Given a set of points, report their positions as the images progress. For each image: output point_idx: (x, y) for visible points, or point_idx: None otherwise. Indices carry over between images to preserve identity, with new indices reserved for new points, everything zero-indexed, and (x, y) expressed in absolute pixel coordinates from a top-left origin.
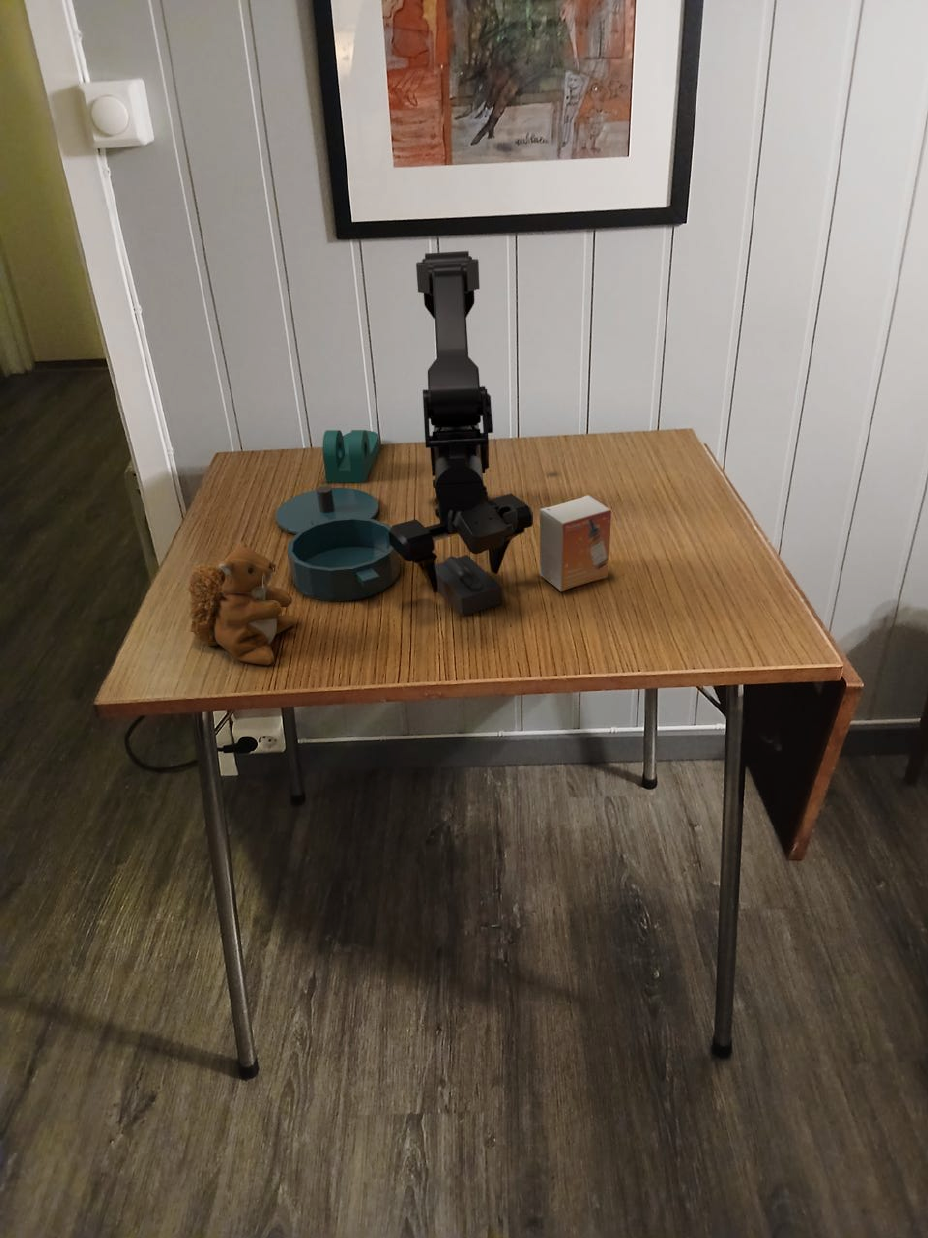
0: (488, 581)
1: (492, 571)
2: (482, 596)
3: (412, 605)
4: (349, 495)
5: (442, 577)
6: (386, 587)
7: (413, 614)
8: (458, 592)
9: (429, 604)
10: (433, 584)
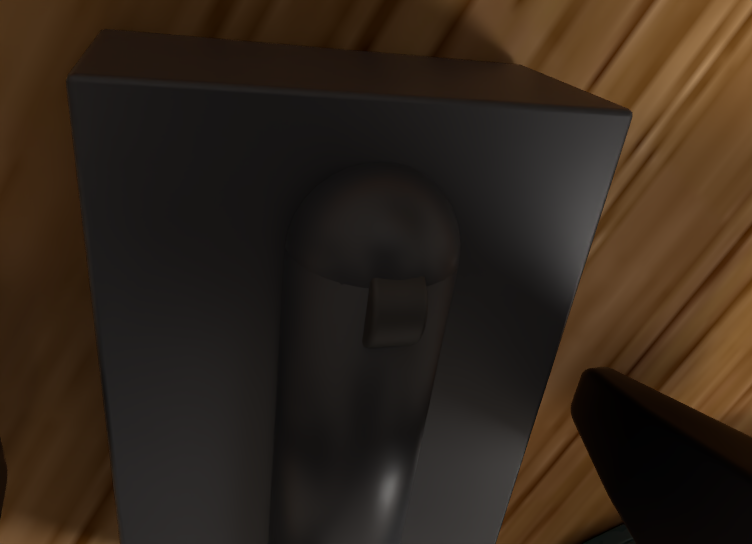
0: (184, 271)
1: (2, 463)
2: (371, 77)
3: (635, 359)
4: None
5: (503, 489)
6: (606, 535)
7: (699, 275)
8: (573, 233)
9: (567, 328)
10: (683, 409)
